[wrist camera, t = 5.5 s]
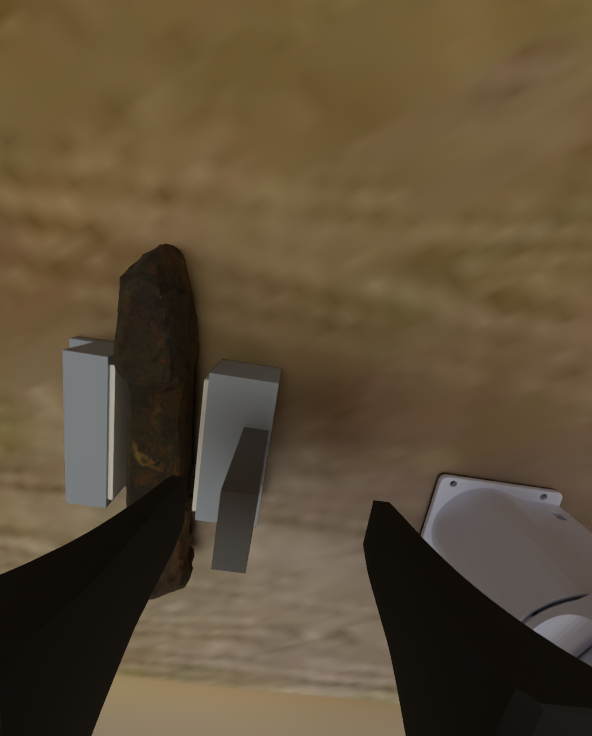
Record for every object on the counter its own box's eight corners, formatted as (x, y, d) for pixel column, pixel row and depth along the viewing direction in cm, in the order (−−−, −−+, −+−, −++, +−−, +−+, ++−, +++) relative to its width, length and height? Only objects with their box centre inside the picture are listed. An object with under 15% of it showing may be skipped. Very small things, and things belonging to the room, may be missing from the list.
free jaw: (281, 368, 21) (271, 429, 12) (261, 493, 24) (240, 624, 14) (218, 358, 21) (159, 413, 12) (205, 485, 23) (147, 613, 14)
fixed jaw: (143, 346, 21) (113, 358, 17) (137, 476, 23) (110, 508, 20) (77, 336, 20) (34, 345, 17) (79, 468, 23) (41, 499, 19)
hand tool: (201, 549, 25) (176, 620, 20) (141, 542, 25) (99, 611, 19) (233, 260, 20) (211, 248, 14) (158, 246, 19) (105, 229, 14)
